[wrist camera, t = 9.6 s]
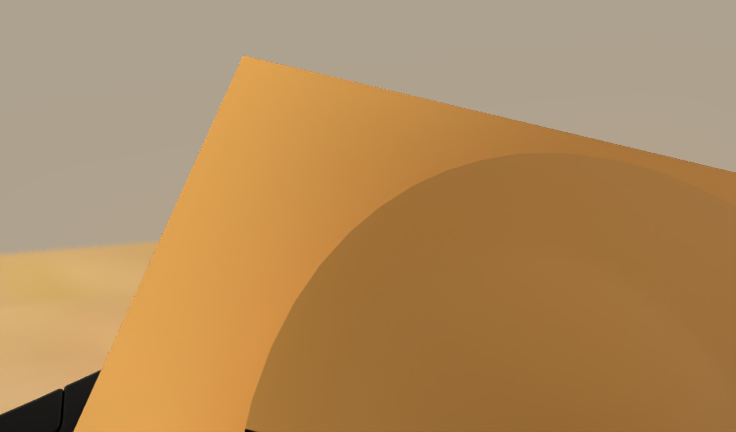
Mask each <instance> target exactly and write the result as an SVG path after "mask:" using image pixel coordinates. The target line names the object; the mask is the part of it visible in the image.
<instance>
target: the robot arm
mask: <svg viewBox="0 0 736 432" xmlns="http://www.w3.org/2000/svg"><path fill="white" fill-rule="evenodd" d="M100 372H101V370H100V371H97V372H95V373H93V374H91V375H89V376H86V377H84V378H82V379H80V380H78V381H75V382H73V383H71V384H69V385H67V386H65V387H64V391H63V389H57V390H55V391H53V392H51V393H49V394H46V395H44V396H42V397H40V398H38V399H35V400H33V401H31V402H29V403H26V404H24V405H22V406H19V407H17V408H15V409H12V410H10V411H8V412H5V413H3V414H1V415H0V432H74V429H75V427H76V425H77V423H78V420H79V418H80V416H81V414H82V412H83V409H84V407H85V405H86V403H87V401H88V398H89V396H90V394H91V392H92V389H93V387H94V385H95V383H96V381H97V378H98V376H99V374H100Z"/></svg>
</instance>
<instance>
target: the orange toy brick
mask: <svg viewBox="0 0 736 432" xmlns="http://www.w3.org/2000/svg"><path fill="white" fill-rule="evenodd" d="M74 432H736V173H734V172H730V171H726V170H722V169H717V168H713V167H709V166H705V165H701V164H697V163H693V162H688V161H684V160H680V159H676V158H671V157H667V156H663V155H659V154H655V153H650V152H646V151H642V150H638V149H634V148H630V147H625V146H621V145H617V144H613V143H609V142H604V141H600V140H596V139H591V138H588V137H583V136H579V135H575V134H571V133H567V132H562V131H558V130H554V129H549V128H545V127H541V126H537V125H533V124H528V123H525V122H520V121H516V120H512V119H508V118H503V117H499V116H495V115H491V114H487V113H483V112H478V111H474V110H470V109H466V108H461V107H457V106H453V105H449V104H445V103H440V102H436V101H432V100H428V99H424V98H419V97H415V96H411V95H407V94H402V93H399V92H394V91H390V90H386V89H382V88H378V87H373V86H369V85H365V84H361V83H357V82H352V81H348V80H344V79H339V78H336V77H331V76H327V75H323V74H319V73H314V72H310V71H306V70H302V69H298V68H294V67H289V66H285V65H281V64H277V63H273V62H268V61H264V60H260V59H256V58H251V57H247V56H243V57H242V59H241V62H240V64H239V66H238V68H237V70H236V73H235V75H234V77H233V79H232V82H231V84H230V86H229V88H228V90H227V93H226V95H225V97H224V99H223V101H222V104H221V106H220V108H219V110H218V112H217V115H216V117H215V119H214V121H213V124H212V126H211V128H210V130H209V132H208V135H207V137H206V139H205V141H204V144H203V146H202V148H201V150H200V153H199V155H198V157H197V159H196V162H195V163H194V166H193V168H192V170H191V172H190V175H189V177H188V179H187V181H186V183H185V186H184V188H183V190H182V192H181V195H180V197H179V199H178V201H177V203H176V206H175V208H174V210H173V212H172V214H171V217H170V219H169V221H168V223H167V226H166V228H165V230H164V232H163V234H162V237H161V239H160V241H159V243H158V245H157V248H156V250H155V252H154V254H153V257H152V259H151V261H150V263H149V265H148V268H147V270H146V272H145V274H144V276H143V279H142V281H141V283H140V285H139V288H138V290H137V292H136V294H135V296H134V299H133V301H132V303H131V305H130V307H129V310H128V312H127V314H126V316H125V319H124V321H123V323H122V325H121V327H120V330H119V332H118V334H117V336H116V339H115V341H114V343H113V345H112V347H111V350H110V352H109V354H108V356H107V358H106V361H105V363H104V365H103V367H102V370H101V372H100V374H99V376H98V378H97V381H96V383H95V385H94V387H93V389H92V392H91V394H90V396H89V398H88V401H87V403H86V405H85V407H84V409H83V412H82V414H81V416H80V418H79V420H78V423H77V425H76V427H75V429H74Z"/></svg>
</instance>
